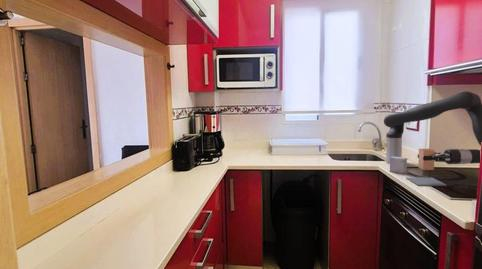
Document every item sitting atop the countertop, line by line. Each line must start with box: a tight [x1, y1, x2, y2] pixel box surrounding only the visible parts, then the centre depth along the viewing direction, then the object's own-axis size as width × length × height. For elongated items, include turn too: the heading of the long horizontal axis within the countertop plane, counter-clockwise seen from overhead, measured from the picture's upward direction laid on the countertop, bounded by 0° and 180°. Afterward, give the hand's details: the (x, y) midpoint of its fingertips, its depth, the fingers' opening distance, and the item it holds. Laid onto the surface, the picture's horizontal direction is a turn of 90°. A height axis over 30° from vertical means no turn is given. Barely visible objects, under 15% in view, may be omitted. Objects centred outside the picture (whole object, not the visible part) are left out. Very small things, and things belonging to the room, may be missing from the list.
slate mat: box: [405, 177, 447, 187], centre depth 142 cm, size 13×13×1 cm
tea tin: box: [417, 148, 436, 171], centre depth 140 cm, size 5×5×10 cm
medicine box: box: [389, 156, 408, 174], centre depth 162 cm, size 8×4×9 cm, turn 41°
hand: (420, 157), depth 140 cm, fingers closed on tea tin, 5 cm apart
